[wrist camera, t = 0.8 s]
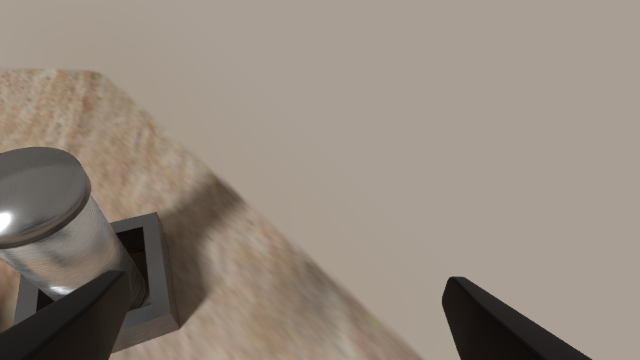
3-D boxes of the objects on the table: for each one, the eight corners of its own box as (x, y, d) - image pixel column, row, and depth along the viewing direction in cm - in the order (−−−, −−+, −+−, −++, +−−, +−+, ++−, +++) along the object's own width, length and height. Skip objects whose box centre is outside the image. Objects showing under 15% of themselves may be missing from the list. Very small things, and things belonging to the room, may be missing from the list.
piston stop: (108, 347, 21) (-7, 258, 12) (52, 309, 22) (-94, 202, 13) (165, 281, 24) (108, 173, 15) (113, 251, 25) (31, 133, 16)
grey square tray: (179, 329, 22) (170, 313, 20) (36, 380, 19) (6, 369, 17) (165, 233, 27) (156, 212, 24) (48, 263, 24) (25, 242, 22)
